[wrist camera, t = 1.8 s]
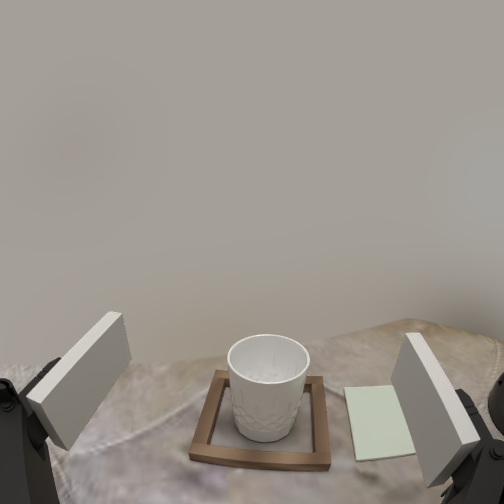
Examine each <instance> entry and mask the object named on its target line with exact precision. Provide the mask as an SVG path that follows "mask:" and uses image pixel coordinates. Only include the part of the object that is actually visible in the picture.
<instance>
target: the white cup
mask: <svg viewBox="0 0 504 504" xmlns="http://www.w3.org/2000/svg"><path fill="white" fill-rule="evenodd" d="M227 361H228V371H229V382H230V392H231V398H232V406H233V411H234V418H235V424H236V426H237V428H238V430H239V432H240V433H241V434H243V435H244V436H245V437H247V438H248V439H250V440H254V441H258V442H263V443H264V442H272V441H277V440H279V439H281V438H283V437H284V436H286V435H288V434H289V432H290V430H291V429H292V427H293V426H294V422H295V418H296V414H297V412H298V409H299V405H300V401H301V398H302V394H303V390H304V385H305V381H306V377H307V372H308V368H309V363H310V357H309V354H308V352H307V350H306V349H305V348H304V347H303V346H302V345H301V344H300V343H298V342H297V341H295V340H292V339H290V338H287V337H284V336H279V335H271V334H264V335H263V334H262V335H254V336H250V337H247V338H244V339H242V340H240V341H238V342H237V343H235V344H234V345H233V346H232V347H231V349H230V350H229V352H228V355H227Z"/></svg>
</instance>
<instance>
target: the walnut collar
mask: <svg viewBox="0 0 504 504" xmlns="http://www.w3.org/2000/svg"><path fill="white" fill-rule="evenodd" d="M225 386H226V387H230V382H229V371H223V370H216V371H215V374H214V377H213V380H212V383H211V386H210V389H209V392H208V395H207V398H206V401H205V404H204V407H203V410H202V413H201V416H200V419H199V422H198V425H197V428H196V431H195V434H194V437H193V440H192V444H191V447H190V450H189V457H190V460H193V461H199V462H205V463H211V464H217V465H225V466H232V467H241V468H252V469H264V470H283V471H328V470H329V468H330V466H331V454H330V442H329V431H328V421H327V411H326V402H325V393H324V384H323V376H307V377H306V381H305V385H304V390H303V392H310V396H311V413H312V435H313V453H300V452H273V451H258V450H247V449H237V448H229V447H221V446H214V445H210V441H211V437H212V434H213V430H214V426H215V423H216V419H217V416H218V412H219V408H220V405H221V401H222V397H223V393H224V390H225Z"/></svg>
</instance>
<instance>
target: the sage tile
mask: <svg viewBox="0 0 504 504" xmlns="http://www.w3.org/2000/svg"><path fill="white" fill-rule="evenodd" d="M344 395H345V400H346V406H347V411H348V417H349V423H350V429H351V435H352V441H353V448H354V454H355V461H356V462H359V461H370V460H379V459H387V458H395V457H401V456H408V455H413V454H416V451H415V448H414V444H413V441H412V438H411V435H410V432H409V429H408V426H407V423H406V420H405V418H404V415H403V412H402V409H401V406H400V403H399V401H398V398H397V395H396V392H395V390H394V387H393V385H390V386H372V387H344Z"/></svg>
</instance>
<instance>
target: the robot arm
mask: <svg viewBox="0 0 504 504" xmlns="http://www.w3.org/2000/svg"><path fill="white" fill-rule="evenodd" d="M131 360H132V358H131V353H130V349H129V345H128V340H127V335H126V330H125V325H124V320H123V314H122V313H117V312H110V311H109V312H108V313H107V314H106V315H105V316H104V317H103V318H102V319H101V320H100V321H99V322H98V323H97V324H96V325H95V326H94V327H93V328H92V329H91V330H90V331H89V332H88V333H87V334H86V335H85V336H84V337H83V338H81V340H80V341H78V342H77V343H76V344H75V346H74V347H73V348H72V349H71V350H70V351H69V352H68V353H67V354H66V355H65V356H64V357H63V358H59V357H58V358H57V359H55V360H53V361H51V362H49V363H48V364H47V365H46V366H45V367H44V368H43V369H42V371H40V372H39V373H38V374H37V377H35V378H34V379H33V380H32V381H31V382H30V383H29V384H28V385H27V386H26V387H25V388H24V389H23V390H22V391H21V392H20V393H19V394H17V392H16V390H15V388H14V386H13V384H12V383H11V381H10V380H8V379H5V378H0V504H60V502H59V499H58V495H57V491H56V486H55V482H54V477H53V473H52V468H51V462H50V457H49V451H48V445H47V443H46V441H45V440H46V438H47V437H48V436H49V437H50V439H51V440H52V442H53V443H54V445H56V446H58V447H60V448H62V449H64V450H67V451H69V450H70V449H71V447H72V446H73V444H74V443H75V441H76V439H77V438H78V436H79V435H80V433H81V432H82V430H83V429H84V427H85V426H86V425H87V423H88V422H89V420H90V419H91V417H92V416H93V414H94V413H95V411H96V410H97V408H98V407H99V405H100V404H101V402H102V401H103V400H104V398H105V397H106V395H107V394H108V392H109V391H110V389H111V388H112V387H113V385H114V384H115V382H116V381H117V379H118V378H119V377H120V375H121V374H122V372H123V371H124V369H125V368H126V367H127V365H128V364H129V362H130V361H131ZM391 382H392V384H393V387H394V390H395V392H396V395H397V398H398V401H399V403H400V406H401V409H402V412H403V415H404V418H405V420H406V423H407V426H408V429H409V432H410V435H411V438H412V441H413V444H414V448H415V451H416V454H417V457H418V460H419V464H420V467H421V470H422V474H423V477H424V481H425V484H426V488H430V487H434V486H437V485H441V484H444V483H445V482H446V481H447V480H448V479H449V477H450V476H452V479H453V483H452V484H451V485H450V486H449V487H448V488H447V489H446V490H445V491H444V492H443V493H442V495H441V497H443V496H444V495H445V494H446V495H445V497H444V499H443V501H442V503H441V504H504V442H503V441H501V440H497V439H493V438H492V436H491V434H490V432H489V430H488V428H487V426H486V424H485V423H484V421H483V419H482V417H481V415H480V414H479V412H478V410H477V408H476V407H475V405H474V403H473V401H472V399H471V398H470V396H469V395H468V394H466V393H465V392H464V391H463V390H462V389H458V390H454V388H453V387H452V385H451V383H450V381H449V380H448V378H447V376H446V374H445V373H444V371H443V369H442V368H441V366H440V364H439V363H438V361H437V359H436V358H435V356H434V355H433V353H432V351H431V350H430V348H429V347H428V345H427V343H426V342H425V340H424V339H423V337H422V336H421V334H420V333H405V337H404V340H403V343H402V346H401V350H400V353H399V356H398V359H397V362H396V365H395V368H394V370H393V373H392V376H391ZM488 405H489V411H490V414H491V417H492V419H493V421H494V423H495V424H496V426H497V427H498V428H499V430H500V431H501V432H502V433H503V434H504V373H503V374H502V375H501V376H500V377H499V378H498V380H497V381H496V383H495V385H494V387H493V389H492V390H491V392H490V395H489V400H488Z"/></svg>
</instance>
